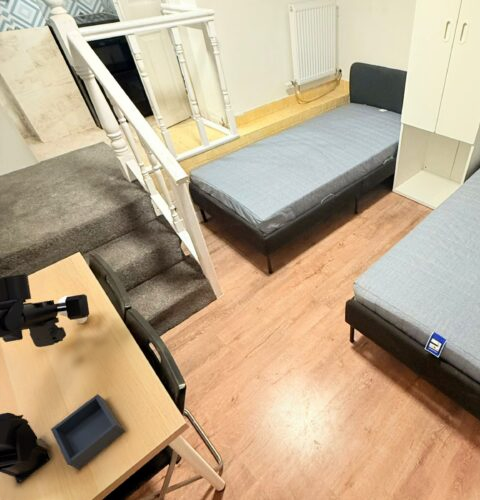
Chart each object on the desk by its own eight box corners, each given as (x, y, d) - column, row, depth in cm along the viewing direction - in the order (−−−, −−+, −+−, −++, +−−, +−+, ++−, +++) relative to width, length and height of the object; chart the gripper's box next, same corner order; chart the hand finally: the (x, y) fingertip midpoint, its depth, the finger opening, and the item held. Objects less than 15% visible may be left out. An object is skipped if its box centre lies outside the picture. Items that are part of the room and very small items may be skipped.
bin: (79, 470, 74) (67, 464, 71) (62, 435, 79) (50, 429, 76) (125, 431, 79) (116, 424, 76) (106, 401, 85) (97, 393, 81)
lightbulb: (98, 318, 103) (79, 296, 95) (79, 333, 99) (57, 312, 92) (88, 309, 105) (68, 287, 98) (69, 323, 102) (47, 302, 94)
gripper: (-10, 356, 80) (38, 339, 96) (73, 342, 82) (107, 328, 98) (-17, 310, 80) (32, 301, 96) (66, 297, 82) (101, 290, 97)
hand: (69, 306), depth 97 cm, fingers open, 9 cm apart
